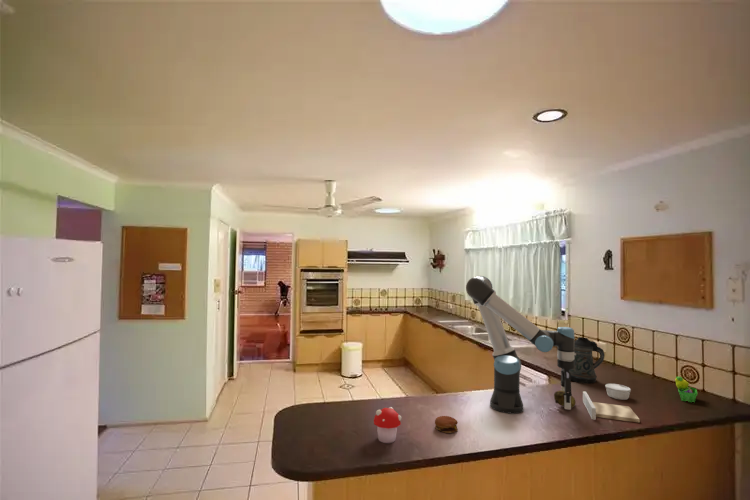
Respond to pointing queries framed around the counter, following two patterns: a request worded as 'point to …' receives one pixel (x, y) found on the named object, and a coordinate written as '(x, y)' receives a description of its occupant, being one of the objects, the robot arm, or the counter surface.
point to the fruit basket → (685, 390)
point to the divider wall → (589, 405)
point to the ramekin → (618, 391)
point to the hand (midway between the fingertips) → (565, 404)
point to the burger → (446, 424)
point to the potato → (560, 398)
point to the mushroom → (387, 424)
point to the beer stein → (585, 361)
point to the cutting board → (615, 412)
